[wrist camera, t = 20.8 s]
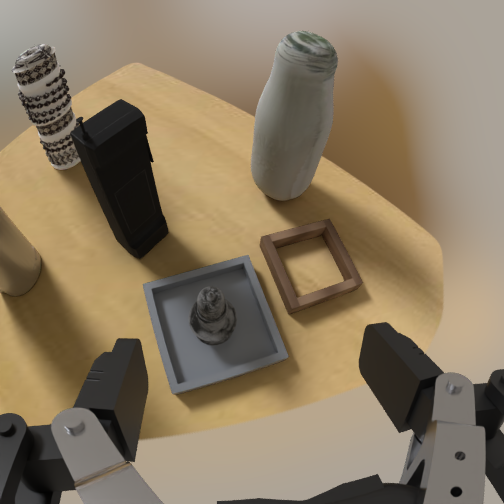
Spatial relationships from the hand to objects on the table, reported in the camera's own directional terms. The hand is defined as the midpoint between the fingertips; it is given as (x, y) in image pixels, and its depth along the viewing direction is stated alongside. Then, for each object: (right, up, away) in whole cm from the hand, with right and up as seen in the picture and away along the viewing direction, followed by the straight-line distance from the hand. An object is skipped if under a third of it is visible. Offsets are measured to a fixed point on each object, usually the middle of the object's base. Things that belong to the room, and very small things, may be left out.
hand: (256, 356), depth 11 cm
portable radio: (-17, +6, +37) cm, 41 cm away
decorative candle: (-37, +23, +44) cm, 62 cm away
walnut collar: (+8, +1, +36) cm, 37 cm away
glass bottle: (+4, +15, +44) cm, 46 cm away
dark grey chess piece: (-5, -6, +30) cm, 32 cm away
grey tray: (-5, -6, +31) cm, 32 cm away
